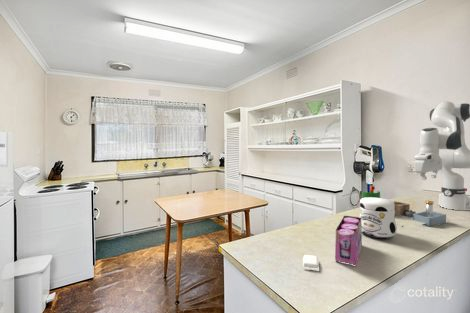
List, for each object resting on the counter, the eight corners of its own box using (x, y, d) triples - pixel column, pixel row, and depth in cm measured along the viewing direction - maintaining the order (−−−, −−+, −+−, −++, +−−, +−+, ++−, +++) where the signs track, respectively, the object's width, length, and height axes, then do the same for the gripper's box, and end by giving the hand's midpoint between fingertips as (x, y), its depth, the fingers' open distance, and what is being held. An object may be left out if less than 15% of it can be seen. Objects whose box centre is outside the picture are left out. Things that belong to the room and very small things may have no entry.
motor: (376, 213, 157) (376, 184, 156) (383, 217, 148) (383, 186, 147) (360, 213, 158) (360, 184, 157) (366, 217, 149) (366, 186, 148)
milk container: (360, 238, 118) (360, 203, 117) (356, 226, 134) (356, 196, 133) (401, 243, 111) (401, 206, 110) (391, 230, 127) (391, 197, 126)
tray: (428, 218, 143) (428, 210, 143) (446, 222, 135) (446, 214, 135) (412, 222, 138) (412, 213, 138) (430, 227, 130) (430, 218, 129)
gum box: (355, 268, 91) (355, 234, 90) (334, 263, 95) (333, 231, 94) (362, 245, 110) (361, 217, 110) (344, 242, 115) (343, 215, 114)
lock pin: (427, 220, 139) (427, 200, 138) (434, 221, 135) (435, 201, 135) (423, 220, 138) (423, 201, 137) (430, 222, 134) (431, 202, 133)
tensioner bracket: (396, 211, 159) (396, 200, 159) (422, 218, 144) (422, 206, 144) (384, 213, 155) (384, 202, 154) (409, 221, 140) (409, 208, 140)
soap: (302, 259, 100) (302, 252, 100) (319, 261, 98) (319, 254, 98) (301, 270, 91) (301, 263, 91) (320, 272, 89) (320, 265, 89)
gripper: (433, 154, 143) (433, 176, 144) (412, 156, 135) (412, 180, 136) (446, 154, 137) (445, 177, 138) (424, 157, 130) (424, 181, 131)
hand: (429, 178), depth 137 cm, fingers open, 8 cm apart
